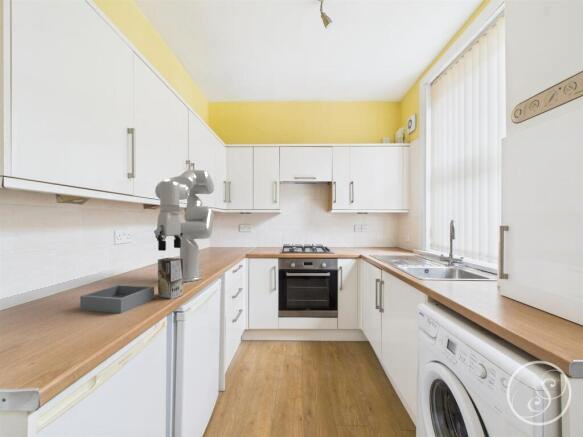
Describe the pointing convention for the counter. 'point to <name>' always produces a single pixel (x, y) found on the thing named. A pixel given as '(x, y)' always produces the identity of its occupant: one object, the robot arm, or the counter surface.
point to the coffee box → (170, 277)
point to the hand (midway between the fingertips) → (170, 249)
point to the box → (116, 298)
